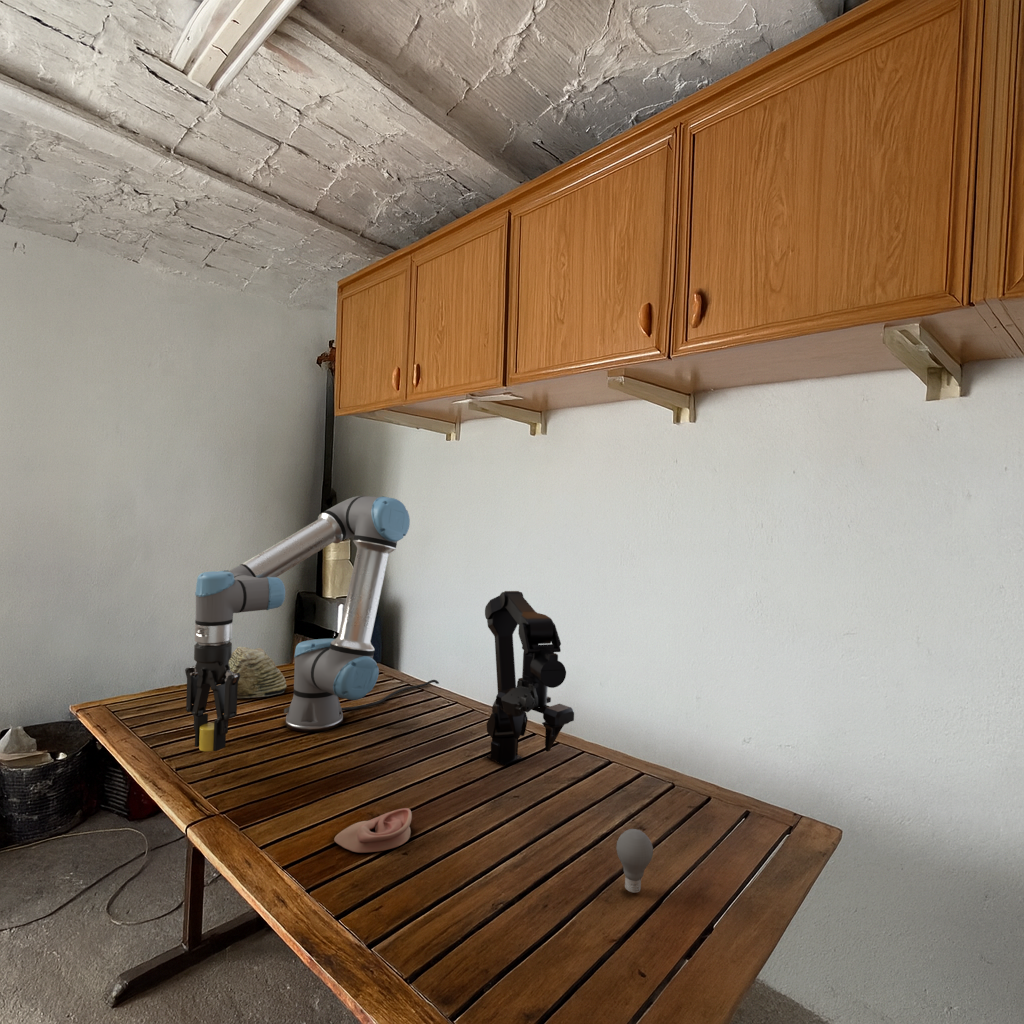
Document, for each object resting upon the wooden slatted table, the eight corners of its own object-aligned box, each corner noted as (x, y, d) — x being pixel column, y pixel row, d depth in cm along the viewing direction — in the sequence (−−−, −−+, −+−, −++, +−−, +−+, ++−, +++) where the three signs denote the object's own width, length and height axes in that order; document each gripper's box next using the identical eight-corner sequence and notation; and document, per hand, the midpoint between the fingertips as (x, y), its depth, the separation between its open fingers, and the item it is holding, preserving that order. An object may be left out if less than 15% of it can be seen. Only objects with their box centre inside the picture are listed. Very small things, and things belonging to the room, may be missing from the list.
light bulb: (610, 879, 108) (613, 822, 108) (644, 879, 109) (647, 822, 109) (619, 902, 102) (622, 840, 102) (655, 901, 103) (658, 840, 103)
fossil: (218, 695, 195) (220, 647, 195) (278, 685, 208) (279, 640, 207) (228, 703, 189) (230, 653, 188) (289, 692, 201) (290, 645, 201)
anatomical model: (326, 826, 114) (355, 797, 125) (325, 847, 114) (354, 817, 126) (396, 837, 112) (418, 806, 123) (395, 859, 112) (417, 827, 123)
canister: (212, 741, 144) (213, 720, 144) (226, 746, 142) (227, 725, 141) (194, 748, 140) (195, 727, 139) (208, 753, 137) (208, 731, 137)
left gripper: (168, 640, 139) (165, 745, 140) (231, 650, 133) (228, 760, 134) (196, 634, 146) (193, 734, 147) (257, 643, 140) (254, 747, 141)
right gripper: (479, 671, 140) (476, 740, 141) (542, 691, 127) (539, 768, 128) (514, 663, 148) (511, 729, 149) (577, 681, 135) (573, 754, 136)
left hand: (210, 746), depth 140 cm, fingers closed on canister, 5 cm apart
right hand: (532, 744), depth 140 cm, fingers open, 9 cm apart
